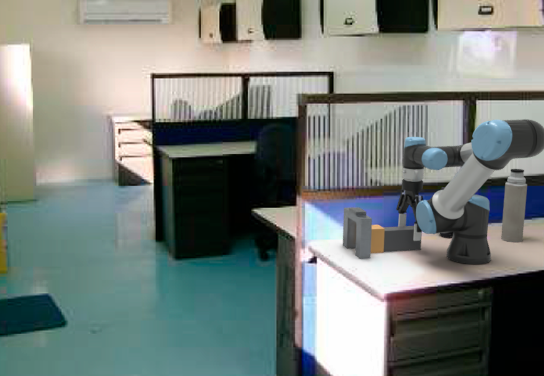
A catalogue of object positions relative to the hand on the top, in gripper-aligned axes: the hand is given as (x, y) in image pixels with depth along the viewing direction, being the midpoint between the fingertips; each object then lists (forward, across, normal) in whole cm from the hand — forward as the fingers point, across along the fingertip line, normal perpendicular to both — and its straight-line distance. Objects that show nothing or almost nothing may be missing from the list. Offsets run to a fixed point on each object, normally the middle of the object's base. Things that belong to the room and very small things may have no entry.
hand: (409, 235), depth 261 cm
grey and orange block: (+5, 0, -7) cm, 9 cm away
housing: (+5, 0, -21) cm, 21 cm away
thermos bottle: (+5, -4, +46) cm, 46 cm away
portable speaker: (+5, -14, +24) cm, 28 cm away
